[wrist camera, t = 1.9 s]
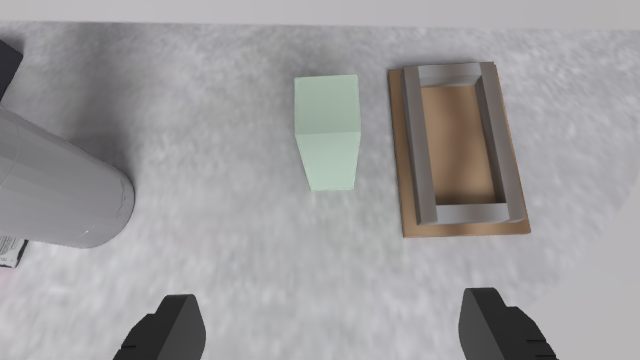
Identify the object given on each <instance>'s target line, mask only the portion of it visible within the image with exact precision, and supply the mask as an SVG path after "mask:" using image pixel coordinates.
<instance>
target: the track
mask: <svg viewBox="0 0 640 360" xmlns="http://www.w3.org/2000/svg"><path fill="white" fill-rule="evenodd" d="M388 83H389V94H390V104H391V114H392V125H393V135H394V145H395V155H396V166H397V176H398V186H399V196H400V207H401V217H402V227H403V238H413V237H445V236H478V235H510V234H528V233H531V229H530V224H529V220H528V215H527V210H526V205H525V201H524V196H523V191H522V187H521V182H520V177H519V172H518V168H517V163H516V158H515V153H514V149H513V144H512V139H511V135H510V130H509V125H508V120H507V116H506V111H505V106H504V102H503V97H502V92H501V87H500V83H499V78H498V73H497V69H496V65H494V62H478V63H459V64H441V65H422V66H404V68H403V70H389V72H388Z"/></svg>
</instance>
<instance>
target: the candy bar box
mask: <svg viewBox="0 0 640 360" xmlns="http://www.w3.org/2000/svg"><path fill="white" fill-rule="evenodd" d="M27 241H28V240H26V239H20V238H14V237H7V236H1V235H0V267H10V268H15V267H16V266H17V264H18V262H19V259H20V257H21V255H22V252H23V250H24V248H25V245H26V244H27Z"/></svg>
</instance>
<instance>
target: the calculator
mask: <svg viewBox="0 0 640 360" xmlns="http://www.w3.org/2000/svg"><path fill="white" fill-rule="evenodd" d="M22 59H23V55H22V54H21V53H19V52H18V51H16V50H15V49H13V48H12V47H10V46H9V45H7V44H6V43H4V42H3V41H1V40H0V100H1V98H2V95H3V93H4V91H5V89H6V86H7V85H8V84H10V83H11V81H12V79H13V77H14V75H15V73H16V71H17V69H18V67H19V65H20V63H21V61H22Z"/></svg>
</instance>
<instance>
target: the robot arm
mask: <svg viewBox="0 0 640 360" xmlns="http://www.w3.org/2000/svg"><path fill="white" fill-rule="evenodd" d="M133 206H134V191H133V187H132V184H131V182H130V180H129V179H128V178H127V176H126V175H125V174H124V173H122V172H121V171H120V170H118V169H116V168H114V167H113V166H111V165H109V164H107V163H105V162H103V161H102V160H100V159H98V158H96V157H95V156H93V155H91V154H89V153H87V152H85V151H83V150H82V149H80V148H78V147H76V146H74V145H72V144H71V143H69V142H67V141H65V140H63V139H61V138H59V137H58V136H56V135H54V134H52V133H50V132H48V131H47V130H45V129H43V128H41V127H39V126H37V125H35V124H34V123H32V122H30V121H28V120H26V119H24V118H22V117H21V116H19V115H17V114H15V113H13V112H11V111H10V110H8V109H6V108H4V107H2V106H0V235H1V236H7V237H14V238H20V239H26V240H32V241H39V242H44V243H50V244H56V245H63V246H69V247H75V248H91V247H96V246H99V245H101V244H103V243H106V242H107V241H109V240H110V239H112V238H113V237H115V236H116V235H117V234H118V233H119V232H120V231H121V230H122V229H123V227H124V226H125V224H126V223H127V222H128V220H129V217H130V215H131V213H132V210H133ZM458 331H459V338H460V343H461V346H462V349H463V352H464V354H465V357H466V360H559V359H557V358H556V354H555V353H554V352H553V350H552V348H551V347H550V345H549V344H548V343H547V342H546V339H545V337H544V336H543V334H542V333H541V331H540V330H539V328H538V326H537V325H536V323H535V322H534V321H533V320H532V319H531V318H529V317H528V316H527V315H526V314H525V313H524V312H523V311H522V310H520V309H519V308H518V307H517V306H515V307H507V306H506V305H505V303H504V301H503V300H502V298H501V296H500V294H499V293H498V291H497V290H496V289H495V288H466V289H465V291H464V295H463V301H462V307H461V313H460V319H459V325H458ZM205 341H206V330H205V326H204V323H203V319H202V316H201V313H200V310H199V306H198V303H197V300H196V297H195V296H194V295H193V294H183V295H167V296H165V297H164V299H163V300H162V302H161V304H160V305H159V307H158V309H157V311H156V313H155V314H147V315H146V316H145V317H144V318H143V319H141V320H140V321H139V322H138V323H137V324H136V325H135V326H134V327H133V328H132V329H131V331H130V332H129V334H128V336H127V337H126V339H125V340H124V342H123V344H122V345H121V349H119V350H118V352H117V353H116V355H115V357H114V358H113V360H200V359H201V356H202V353H203V350H204V347H205Z"/></svg>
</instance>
